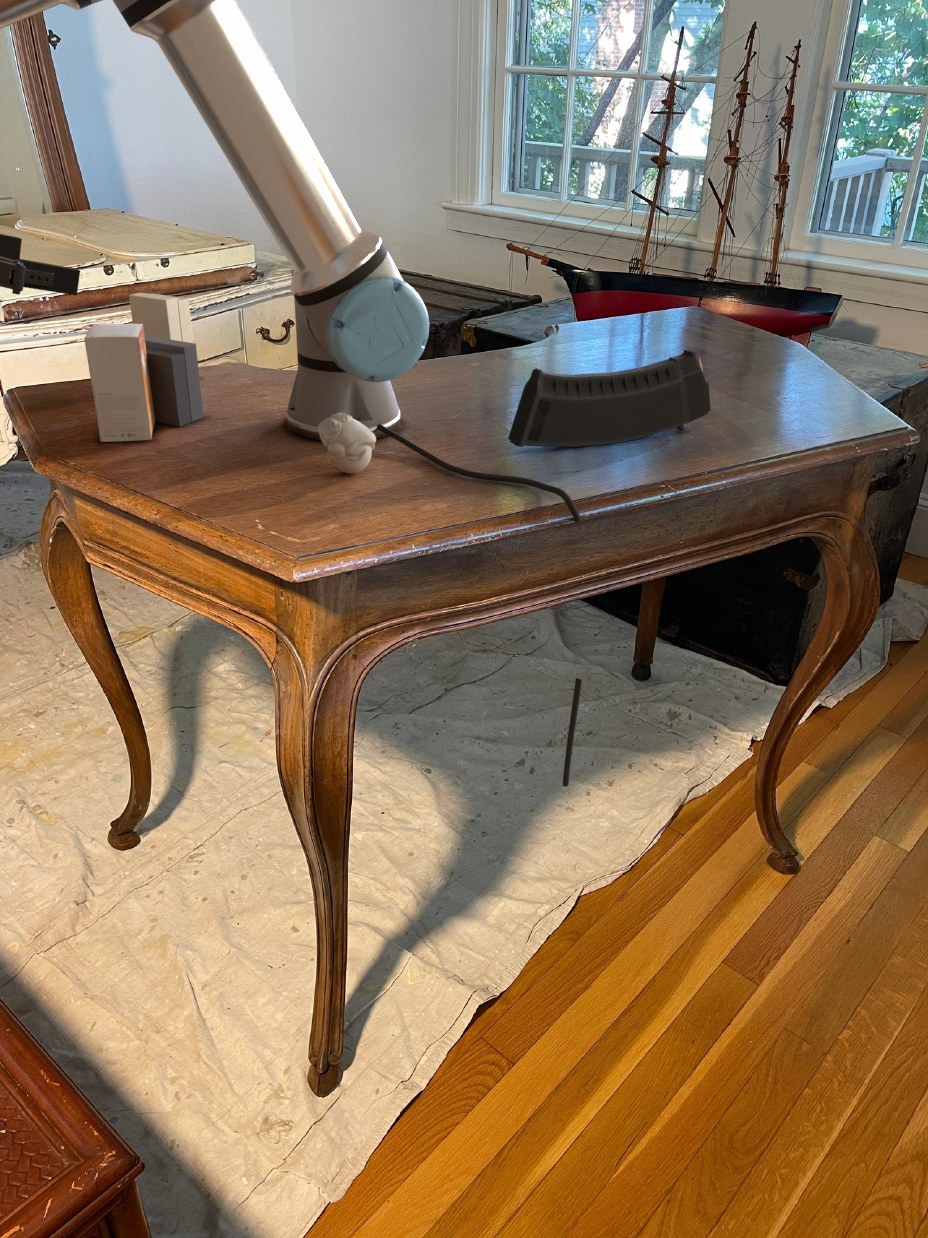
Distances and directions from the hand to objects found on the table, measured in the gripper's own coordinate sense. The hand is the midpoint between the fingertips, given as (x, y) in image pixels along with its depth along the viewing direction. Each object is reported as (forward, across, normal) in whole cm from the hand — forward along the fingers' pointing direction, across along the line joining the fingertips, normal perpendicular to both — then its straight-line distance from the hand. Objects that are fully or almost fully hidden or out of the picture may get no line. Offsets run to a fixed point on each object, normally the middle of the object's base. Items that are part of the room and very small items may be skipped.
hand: (47, 265), depth 105 cm
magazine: (+55, +47, -2) cm, 72 cm away
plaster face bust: (+22, +33, -12) cm, 41 cm away
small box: (+12, +3, -19) cm, 22 cm away
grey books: (+19, +1, -17) cm, 25 cm away
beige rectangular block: (+29, -16, -16) cm, 37 cm away
